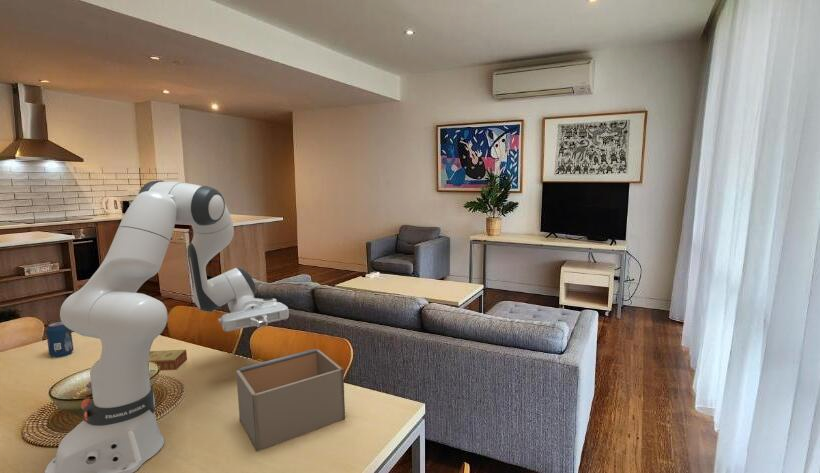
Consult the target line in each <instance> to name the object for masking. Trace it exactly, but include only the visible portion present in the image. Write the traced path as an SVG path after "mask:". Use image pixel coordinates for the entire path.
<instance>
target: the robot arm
mask: <svg viewBox="0 0 820 473" xmlns="http://www.w3.org/2000/svg"><path fill="white" fill-rule="evenodd" d="M231 216H232V215H231V214H230V211H229V208H228V207H227V204H226V202H225V199H224V197H223V195H222V193H221V192H220V191H219V190H217V189H216V188H213V187H211V186H208V185H200V184H194V183H188V182H184V181H175V180H174V181H172V180H171V181H165V180H152V181H148V182H147V183H145V184H144V185H143V186H142V187H141V188H140V190H139V192H138V193H137V195H136V196H135V198H134V199H133V200H132V202H131V203H130V205H129V207H128V208H127V209H126V211H125V213H124V214H123V217H122V219H121V221H120V223H119V226H118V228H117V229H116V232H115V235H114V237H113V240H112V243H111V244H110V247H109V249H108V251H107V253H106V255H105V257H104V260H103V261H102V262H101V264H100V265H99V267H98V268H97V270H95V272H94V273H93V274H92V276H91V277H90V278H89V279H88V281H87V282H86V283H85V284H84V285H83V286H82V287H81V288H80V289H79V290H77V291H75V292H74V293H72V294H70V295H69V296H68V297H67V298H65V300H64V301H63V303H62V304H61V307H60V310H59V318H60V321H62V323H63V324H64V325H65V326H66V327H67V328H69V329H70V330H71V332H74V333H76V334H78V335H80V336H83V337H88V338H94V339H98V340H100V342H101V353H100V357H99V359H98V360H97V361H96V362H95V363H94V364H92V366H91V369H90V371H89V375H90V381H91V386H92V391H91V394H92V399H91V398H85V399H83V400H82V402H81V405H80V406H81V409H82V416H83V420H81V422H80V423H79V424H77V425H76V426H75V427H74V428H72V430H71V431H69V432H68V433H67V434H65V435H64V436H63V438H61V441H60V442H59V445H58V447H57V450H56V453H55V456H54V458H53V459H51V461H49V463H48V464H47V466H46V467H45V470H44V473H135V472H136V471H138V469H139V468H141V466H142V465H143V464H144V463H145V462H147V461H148V460H149V459H151V458H152V457H154V456H155V455H156V454H158V452H159V451H160V450H161V449H162V447H163V446H164V443H165V439H164V436H163V435H162V432H161V431H160V427H159V424H158V421H157V418H156V414H155V411H156V401H155V400H156V399H155V392H154V388H153V387H152V386H151V377H150V376H151V375H150V371H149V353H150V351H151V348H152V345H153V343H154V341H155V340H156V339H157V338H158V337H159V336H160V335H161V334H162V333H163V331H164V329H165V328H166V325H167V323H168V316H169V315H168V310H167V307H166V305H165V304H164V302H162V301H161V300H158V299H157V298H155V297H152V296H150V295H147V294H145V293H140V292H138V291H139V290H140V288H141V286H143V284H144V283H145V282H147V281H148V280H149V279H150V278H153V277H155V275H157V273H159V271H160V270H161V268H162V265H163V261H164V259H165V257H166V254H167V251H168V249H169V246H170V243H171V239H172V237H173V233H174V230H175V226H176V224H180V225H191V227H192V232H193V237H192V239H191V242H190V243H189V245H188V246H187V259H188V260H187V261H188V266H189V273H190V279H191V285H192V298H193V302H194V304H195V305H196V308H198V309H199V310H200V311H203V312H207V313H209V312H210V313H211V312H213V311H215V310H217V309H219V308H221V307H222V306H224V305H226V304H227V307H228V309H229V311H230V312H229V313H223V315H221V317H219V318H218V319H217V322H218V323H219V324H221V327H222V330H223V332H232V331H236V330H241V329H246V328H251V327H257V328H261V327H262V328H263V327H266V326H267V327H268V325H269V323H273V322H278V321H282V320H287V319H288V318H289V316H290V313H289V312H290V310H289V307H288V306H287V305H286V304H284V303H282V302H279V301H278V300H277V299H276V298H258V297H257V298H256V297H255V296H256V292H257V287H256V283H255V282H254V280H253V277H251V275H250V274H249V273H248V271H247V270H244V269H243V268H241V267H235V268H231V269H229V270H227V271H225V272H223V273H221V274H219V275H217V276H214V277H212V278H210V279H208V277H207V270H206V268H207V265H208V264H209V262H210V261H211V259H213V258H214V257H215V256H216V255H218V254H219V253H220V252H222V251H223V250H224V249H226V247H228V245H229V244H231V241H232V240H233V238H234V236H235V229H234V224H233V220H232V217H231Z"/></svg>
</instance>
